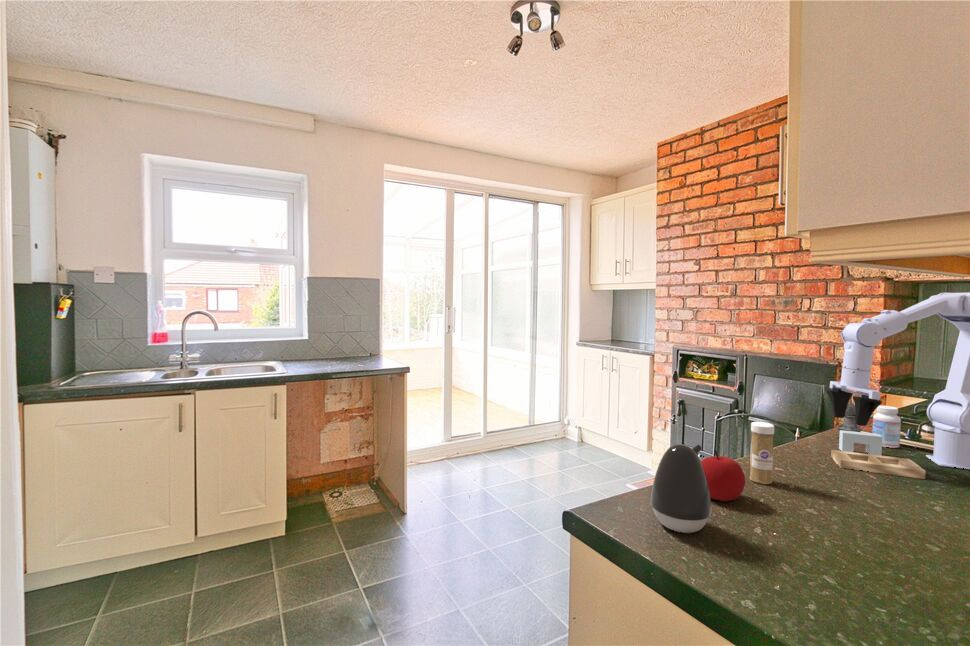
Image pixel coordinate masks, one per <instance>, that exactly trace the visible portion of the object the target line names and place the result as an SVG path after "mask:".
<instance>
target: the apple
mask: <svg viewBox="0 0 970 646" xmlns="http://www.w3.org/2000/svg"><path fill="white" fill-rule="evenodd" d="M713 452H714V453H715V456H714V455H713V456H712V455H711V456H708V457H705V458H703V459H702V460H700V461H701V463H702V466H703V469H704V472H705V475H706V478H707V482H708V487H709V492H710V499H711V500H716V501H720V502H728V501H735V500H737V499H739V497H740V496H741V495H742V494H743V491H744V489H745V485H746V476H745V472H744V470H743V469H742V467H741V465H740V464H739V463H738V461H736V460H734V459H733V458H729V457H726V456H719V455H718V452H717V450H714V451H713Z"/></svg>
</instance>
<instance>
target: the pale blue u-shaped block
mask: <svg viewBox="0 0 970 646" xmlns="http://www.w3.org/2000/svg"><path fill="white" fill-rule="evenodd" d="M838 437H839V439H838V440H839V441H838V443H839V445H838V450H839V449H840V450H841V451H847V452H854V447H855V446H854V445H855V444H857V445H858V444H860V445H865V453H866V452H867V453H868V454H873V455H881V456H883V455H882V451H883V450H882V449H883V447H882V436H880V435H879V434H874V433H871V432H865V431H863V432H862V431H861V432H854V431H844V430H840V432H839V436H838ZM840 450H839V451H840ZM867 453H866V454H867Z"/></svg>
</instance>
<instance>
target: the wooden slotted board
mask: <svg viewBox="0 0 970 646" xmlns="http://www.w3.org/2000/svg"><path fill="white" fill-rule="evenodd" d="M831 457H832V458H833V459H832V460H833V461H834V462H835V464H836V465H837V464H838V465H839V466H840V467H839V466H838V465H837V466H838V467H839V468H840V469H844V468H846V470H851V469H854V470H853V471H859V470H863V471H862V472H867V471H869V473H875V474H883V475H892V476H899V477H907V478H914V479H920V480H921V479H922V480H925V479H926V470H925V469H924V468H923V467H922V466H920V465H919V464H918V463H916V462H915V461H914V460H912V459H911V458H905V457H897V456H888V455H882V456H881V455H873V454H867V453H863V452H862V453H861V452H854V451H853V452H847V451H840V450H839V449H838V450H836V449H831V451H830V458H831Z"/></svg>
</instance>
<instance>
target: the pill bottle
mask: <svg viewBox="0 0 970 646" xmlns="http://www.w3.org/2000/svg"><path fill="white" fill-rule="evenodd" d="M875 411H877V413H874V414H872V429H871V430H872V431H871V432H872V433H874V434H879V435H880V436H882V448H886V447H889V448H888V449H891V448H892V449H899V448H900V446H901V445H900V444H901V427H902V419H901V417H900V416H899V415H898V413H899V408H898V407H896V406H890V405H884V404H883V405H881V404H880V405H879V406H878V407H877V408H876V409H875Z"/></svg>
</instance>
